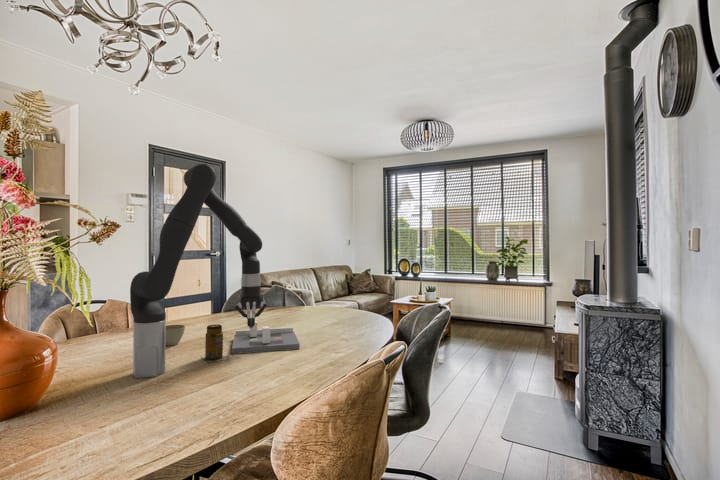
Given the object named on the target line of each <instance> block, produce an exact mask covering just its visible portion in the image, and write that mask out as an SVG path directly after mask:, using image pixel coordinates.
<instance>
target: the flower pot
mask: <svg viewBox="0 0 720 480" xmlns="http://www.w3.org/2000/svg"><path fill="white" fill-rule="evenodd" d="M185 328H186V326H185V325H184V324H168V325H167V324H166V335H165V346H175V345H178V344H179V343H180V342H181V340H182V339H183V336H184V334H185Z"/></svg>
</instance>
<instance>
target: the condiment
mask: <svg viewBox="0 0 720 480" xmlns="http://www.w3.org/2000/svg"><path fill="white" fill-rule="evenodd" d="M223 342H224V333H223V326H222V324H217V323H216V324H208V325H207V326H206V333H205V346H204V347H205V351H204V352H205V355H202V356H201V358H202V360H204V361H205V362H207V363H214V362H219V361H225V360H228V359H229V358H228V357H226V356H225V355H223V350H224V343H223Z"/></svg>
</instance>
